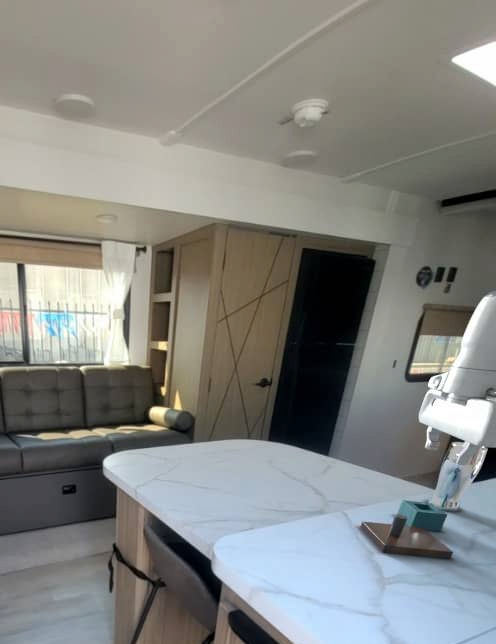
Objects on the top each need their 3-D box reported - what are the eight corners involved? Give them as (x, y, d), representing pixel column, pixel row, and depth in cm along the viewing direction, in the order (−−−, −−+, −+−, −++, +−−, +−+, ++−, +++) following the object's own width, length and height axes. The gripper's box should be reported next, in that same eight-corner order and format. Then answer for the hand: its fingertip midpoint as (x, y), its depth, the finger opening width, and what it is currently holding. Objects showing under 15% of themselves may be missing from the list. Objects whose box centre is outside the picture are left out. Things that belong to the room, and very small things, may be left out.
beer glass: (433, 509, 96) (459, 448, 89) (420, 498, 102) (444, 440, 95) (466, 514, 94) (496, 452, 88) (451, 502, 100) (478, 443, 94)
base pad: (420, 533, 84) (430, 509, 82) (450, 558, 75) (462, 532, 73) (360, 527, 85) (368, 504, 83) (382, 552, 76) (392, 526, 74)
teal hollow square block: (424, 518, 91) (431, 502, 89) (440, 531, 85) (448, 514, 84) (396, 516, 91) (402, 500, 90) (410, 528, 86) (417, 511, 84)
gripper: (538, 395, 66) (499, 475, 72) (457, 379, 84) (431, 443, 90) (496, 393, 66) (460, 472, 72) (425, 377, 84) (401, 441, 90)
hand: (444, 456), depth 81 cm, fingers open, 8 cm apart
